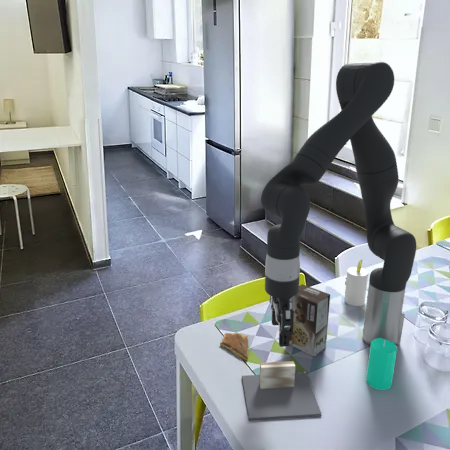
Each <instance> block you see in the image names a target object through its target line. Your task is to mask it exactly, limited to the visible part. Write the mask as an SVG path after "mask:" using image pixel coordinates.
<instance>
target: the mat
mask: <svg viewBox="0 0 450 450" xmlns="http://www.w3.org/2000/svg"><path fill="white" fill-rule="evenodd" d="M241 379H242V384H243V385H242V386H243V391H244V396H245V397H244V398H245V402H246V403H245V404H246V410H247V414H248V420H249V421H258V420H260V421H261V420H274V419H275V420H276V419H279V420H280V419H292V418H306V417H307V418H308V417H309V418H310V417H322V412H321V409H320V406H319V404H318V401H317V398H316V395H315V392H314V390H313V387H312V385H311V381H310V379H309V376H308V373H307V371H306V372H304V371H303V372H295V379H294V387H283V388H265V389H261V388H260V374H254V375H253V374H248V375H241Z"/></svg>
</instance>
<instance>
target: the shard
mask: <svg viewBox="0 0 450 450" xmlns="http://www.w3.org/2000/svg"><path fill="white" fill-rule="evenodd" d="M219 343H220V344H219V345H220V346H221V347H223V348H226V349H227V350H229V351H230V352H232V354H234V355H236V356H237V357H239V358H241V359H243V360H245V361H248V359H249V353H248V352H249V351H248V349H249V339H248V335H246V334H243V333H228V332H227V333H226V332H225V333H224V334H223V339H222V341H221V342H219Z"/></svg>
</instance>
